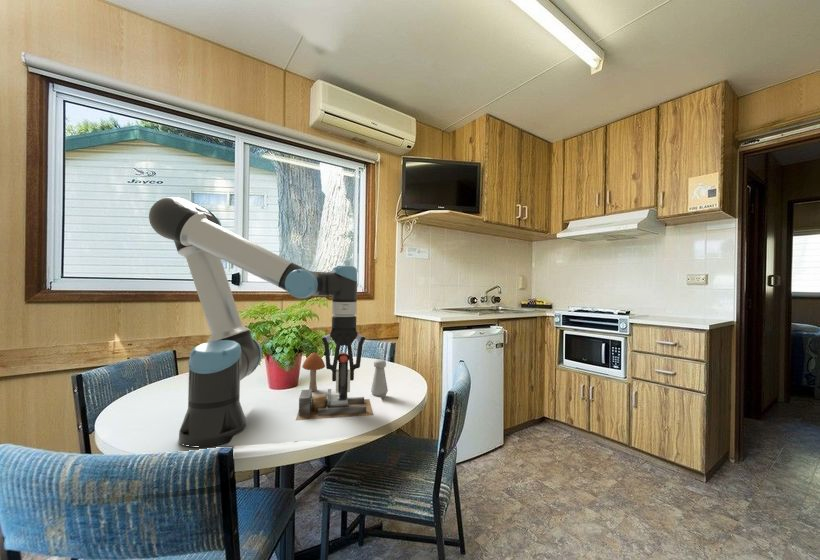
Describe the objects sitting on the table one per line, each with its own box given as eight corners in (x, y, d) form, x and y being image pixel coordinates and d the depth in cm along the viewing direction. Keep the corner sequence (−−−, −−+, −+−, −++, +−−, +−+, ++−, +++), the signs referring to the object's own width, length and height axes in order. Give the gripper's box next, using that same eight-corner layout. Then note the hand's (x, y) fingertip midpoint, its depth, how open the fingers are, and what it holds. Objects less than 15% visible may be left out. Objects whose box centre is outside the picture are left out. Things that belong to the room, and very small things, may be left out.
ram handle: (327, 411, 101) (328, 355, 101) (327, 404, 107) (328, 351, 107) (348, 410, 102) (349, 354, 103) (347, 403, 108) (348, 351, 108)
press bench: (295, 424, 95) (296, 402, 95) (300, 406, 109) (301, 387, 109) (373, 419, 100) (374, 398, 100) (369, 402, 114) (369, 384, 114)
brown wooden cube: (311, 412, 101) (311, 399, 101) (312, 407, 105) (312, 394, 105) (326, 411, 102) (326, 398, 102) (326, 406, 106) (326, 393, 106)
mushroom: (316, 398, 116) (317, 355, 116) (296, 396, 119) (297, 353, 119) (328, 391, 124) (329, 350, 124) (310, 389, 126) (311, 349, 126)
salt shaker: (384, 400, 116) (385, 362, 116) (368, 399, 117) (369, 361, 117) (389, 395, 122) (390, 358, 122) (374, 393, 123) (374, 357, 123)
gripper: (317, 316, 100) (315, 396, 100) (371, 316, 103) (369, 393, 103) (318, 314, 107) (316, 388, 107) (368, 314, 110) (367, 386, 110)
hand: (342, 390), depth 105 cm, fingers closed on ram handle, 3 cm apart
